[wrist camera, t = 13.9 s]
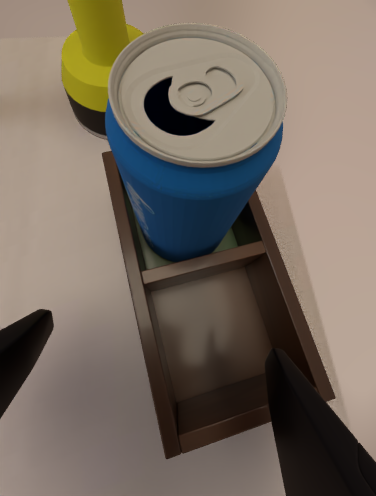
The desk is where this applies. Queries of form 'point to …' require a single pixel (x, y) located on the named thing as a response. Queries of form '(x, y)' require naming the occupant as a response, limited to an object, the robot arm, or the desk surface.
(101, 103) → the flashlight
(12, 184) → the desk surface
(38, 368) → the desk surface
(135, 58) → the beverage can
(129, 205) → the wooden divided tray
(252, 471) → the desk surface
